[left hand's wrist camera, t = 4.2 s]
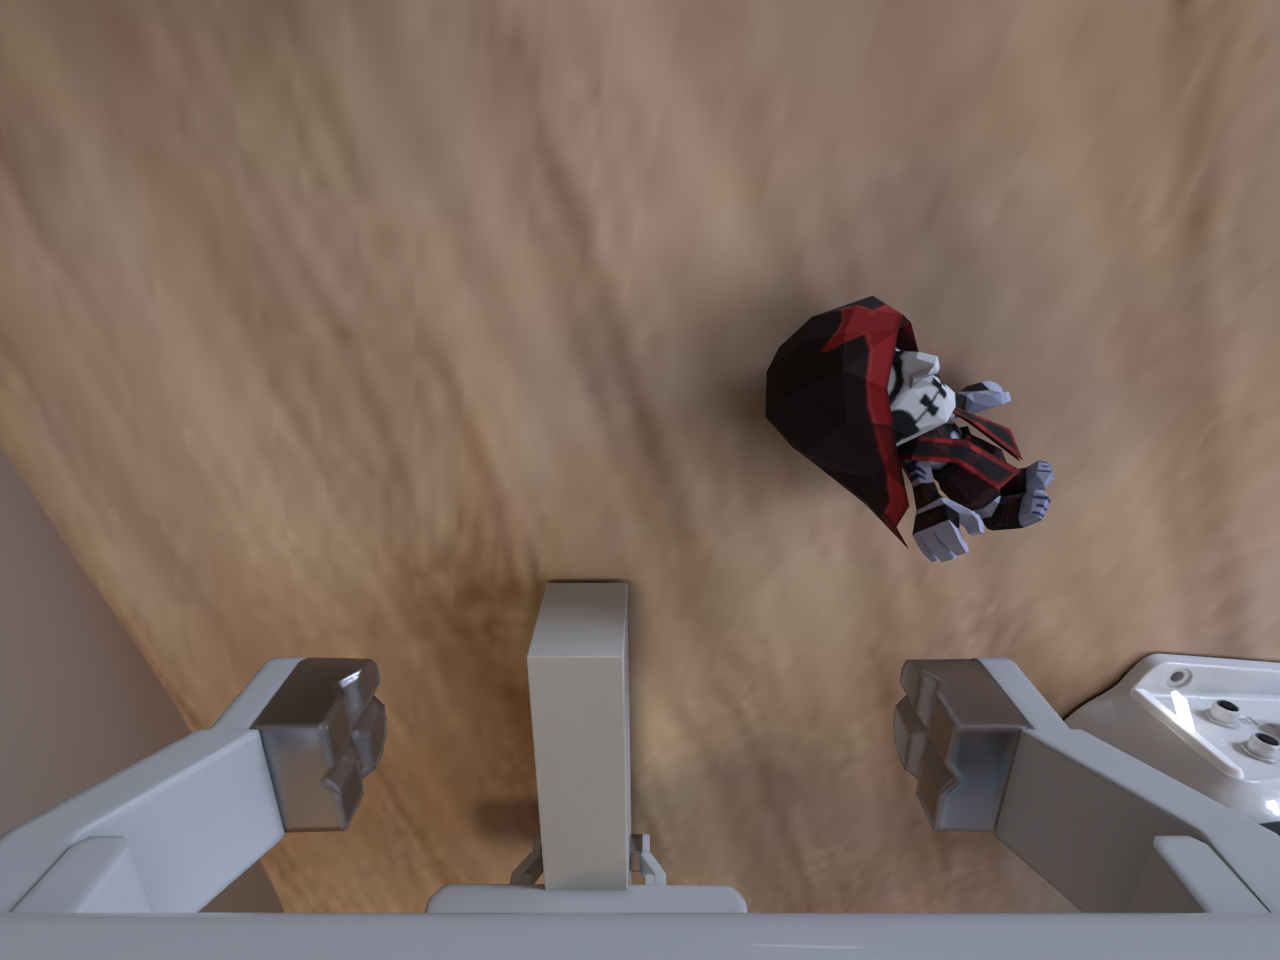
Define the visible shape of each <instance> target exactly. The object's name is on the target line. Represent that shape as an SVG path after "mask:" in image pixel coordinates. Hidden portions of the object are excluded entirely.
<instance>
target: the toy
mask: <svg viewBox="0 0 1280 960" xmlns="http://www.w3.org/2000/svg"><path fill="white" fill-rule="evenodd" d="M939 368H940V365H939V361H938V357H937V356H934V355H930V354H926V353H921V352H918V348H917V345H916V341H915V337H914V333H913V329H912V325H911V322H910V321H909V320H908V319H907V318H906V317H905V316H904V315H902V314H901V313H899V312H898V311H896V310H894V309H893V308H891V307H890V306H888V305H886V304H885V303H883V302H882V301H880V300H879V299H877V298H875V297H874V296H871V297H868V298H865V299H862V300H859V301H856V302H853V303H851V304H848V305H845V306H842V307H839V308H836V309H833V310H831V311H828V312H825V313H822V314H819V315H816V316H813V317H812V318H811V319H809V320H808V321H807V322H806V323H805V324H804V325H803V326H802V327H801V328H800V329H799V330H798V331H796V332H795V333H794V334H793V335H792V336H791V337H790V338H789V339H788V340H787V341H786V342H785V343H783V344H782V345H781V346H780V347H779V349H778V351H777V353H776V355H775V357H774V359H773V361H772V363H771V365H770V367H769V369H768V371H767V380H766V418H767V419H768V420H769V421H770V422H771V423H772V424H773V426H774V427H775V428H776V429H777V430H778V431H779V432H780V434H781V435H782V436H783V437H784V438H785V439H786V440H787V441H788V443H789V444H790V445H791V446H792V447H793V448H794V449H796V450H797V451H798V452H800V453H801V454H802V455H804V456H805V457H806V458H808V459H809V460H810V461H812V462H813V463H814V464H815V465H817V466H818V467H819V468H821V469H822V470H823V471H824V472H826V473H827V474H828V475H830V476H831V477H832V478H833V479H835V480H836V481H837V482H838V483H840V484H841V485H842V486H843V487H845V488H846V489H847V490H849V491H850V492H851V493H852V494H854V495H855V496H856V497H857V498H859V499H860V500H861V501H862V502H864V503H865V504H866V505H867V506H868V507H869V508H870V509H871V510H872V511H873V512H874V513H875V514H876V516H877V517H878V518H879V519H880V520H881V521H882V522H883V523H884V524H885V525H886V526H887V527H888V528H889V529H890V530H891V531H892V532H893V533H894V534H895V535H896V536H897V537H898V539H899V540H900V541H901V542H902V543H903V544H904V545H905V546H906V547H907V545H906V543H905V542H904V540H903V538H902V536H901V534H900V533H899V531H898V529H897V525H898V523H899V522H900V520H901V518H902V517H903V515H904V514H905V512H906V510H907V509H908V507H909V503H908V498H907V493H906V488H905V484H904V479H903V474H902V469H901V468H903V470H904V471H905V473H906V475H907V476H908V478H909V480H910V482H911V483H912V486H913V492H914V498H915V504H916V509H917V510H916V516H915V522H914V529H913V537H914V539H915V541H916V543H917V545H918V546H919V548H920V549H921V551H922V552H923V554H924V555H925V556H926V557H927V558H928V559H930V560H931V561H932V562H933V561H936V560H940V561H941V562H944V561H948V560H952V559H954V558H956V557H957V556H958V555H961V554H963V553H966V552H969V549H968V547H967V545H966V543H965V540H964V538H963V536H962V534H961V532H960V528H959V523H960V524H961V525H963V526H964V527H965V528H966V530H967V532H968V534H970V535H977V534H983V533H984V525H985V526H986V527H987V529H990V530H1005V529H1016V528H1024V527H1026V526H1029V525H1031V524H1033V523H1036V522H1038V521H1041V520H1042V519H1043V517H1044V514H1045V512H1046V510H1047V508H1048V506H1049V504H1050V499H1049V497H1048V495H1047V494H1046V493H1045V492H1044V489H1046V487H1047V486H1048V485H1049V483H1050V482H1051V481H1052V479H1053V478H1054V476H1053V472H1052V469H1051V466H1050V464H1049V463H1048V462H1046V461H1040V460H1039V461H1037V462H1035V463H1033V464H1032V465H1030V466H1028V467H1027V468H1021V469H1017V468H1015V467H1014V466H1012V465H1010V464H1008V463H1007V462H1006V460H1005V457H1004V454H1003V452H1002V449H1000V448H998V447H996V446H994V445H992V444H990V443H988V442H986V441H984V440H982V439H980V438H978V437H975V436H973V435H971V433H970V431H969V428H968V426H966V427H961V428H958V426H957V425H956V423H954V422H952V421H951V420H949V418H954V417H960V418H962V419H963V420H965V421H967V422H968V423H969V424H971V425H972V426H973V427H975V428H976V429H977V430H979V431H980V432H981V433H983V434H984V435H985V436H987V437H988V438H989V439H991V440H992V441H993V442H995V443H996V444H997V445H999V446H1000V447H1001V448H1003V449H1004V450H1005V451H1007V452H1008V453H1009V454H1011V455H1012V456H1013V457H1015V458H1016V459H1017V460H1019V458H1020V459H1022V457H1021V455H1020V452H1019V450H1018V447H1017V445H1016V442H1015V440H1014V437H1013V435H1012V432H1011V430H1010V429H1008V428H1006V427H1003V426H1001V425H998V424H996V423H994V422H991V421H989V420H986V419H984V418H982V417H979V416H977V415H974V413H977V412H980V411H984V410H987V409H990V408H993V407H996V406H999V405H1002V404H1004V403H1006V402H1008V401H1011V399H1010V395H1009V392H1002V388H1001V387H1000V386H999V385H997V384H996V383H994V382H991V381H986V382H981V383H978V384H974V385H970V386H967V387H965V388H964V389H963V390H961V391H960V392H959V393H957V394H955V393H954V392H953V391H952V390H951V389H950V388H949V387H948V386H947V385H946V384H945V383H943V382H942V381H941V380H940V377H939V375H938V374H937V373H938V372H939ZM1018 457H1019V458H1018ZM1019 461H1020V460H1019ZM933 478H934V479H935V480H936V481H937V482H939V485H940V489H941V490H942V491H943V492H944V493H945V494H946V495H947V496H948V497H949V499H950V500H949V499H944V498H943V497H942V496H941V495H940V494H939V493H938V490H937V488H936V485H935V483H934V479H933ZM973 510H974V511H975V512H973ZM907 548H908V547H907Z"/></svg>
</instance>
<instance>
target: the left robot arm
mask: <svg viewBox="0 0 1280 960" xmlns="http://www.w3.org/2000/svg"><path fill="white" fill-rule="evenodd" d="M379 683H380V677H379V673H378V668H377V664H376V663H375V662H374V661H373V660H372V659H352V658H282V657H276V658H273V659H271V660H268V661H267V662H266V663H265V664H264V665H263V666H262V667H261V669H260V670H259V671H258V672H257V673H256V675H255V676H254V677H253V678H252V679H251V681H250V682H249V683H248V684H247V685H246V687H245V688H244V689H243V690H242V691H241V693H240V694H239V695H238V696H237V697H236V698H235V700H234V701H233V702H232V703H231V704H230V706H229V707H228V708H227V709H226V710H225V712H224V713H223V714H222V715H221V716H220V718H219V719H218V720H217V721H216V722H215V724H214V725H213V726H212V727H211V728H210V729H199V730H197V731H195V732H193V733H191V734H190V735H188V736H186V737H184V738H182V739H180V740H178V741H176V742H174V743H173V744H171V745H169V746H167V747H165V748H163V749H161V750H159V751H158V752H156V753H154V754H152V755H150V756H148V757H146V758H144V759H142V760H141V761H139V762H137V763H135V764H133V765H131V766H129V767H127V768H126V769H124V770H122V771H120V772H118V773H116V774H114V775H112V776H111V777H109V778H107V779H105V780H103V781H101V782H99V783H97V784H95V785H93V786H92V787H90V788H88V789H86V790H84V791H82V792H80V793H78V794H77V795H75V796H73V797H71V798H69V799H67V800H65V801H63V802H62V803H60V804H58V805H56V806H54V807H52V808H50V809H48V810H46V811H45V812H43V813H41V814H39V815H37V816H35V817H33V818H31V819H29V820H28V821H26V822H24V823H22V824H20V825H18V826H16V827H14V828H13V829H11V830H9V831H7V832H5V833H4V834H3V835H2V836H1V837H0V960H1280V836H1279V835H1278V834H1276V833H1274V832H1273V831H1271V830H1269V829H1267V828H1265V827H1263V826H1261V825H1259V824H1258V823H1256V822H1254V821H1252V820H1250V819H1248V818H1246V817H1244V816H1243V815H1241V814H1239V813H1237V812H1235V811H1233V810H1231V809H1229V808H1228V807H1226V806H1224V805H1222V804H1220V803H1218V802H1216V801H1214V800H1212V799H1211V798H1209V797H1207V796H1205V795H1203V794H1201V793H1199V792H1197V791H1196V790H1194V789H1192V788H1190V787H1188V786H1186V785H1184V784H1182V783H1181V782H1179V781H1177V780H1175V779H1173V778H1171V777H1169V776H1167V775H1166V774H1164V773H1162V772H1160V771H1158V770H1156V769H1154V768H1152V767H1151V766H1149V765H1147V764H1145V763H1143V762H1141V761H1139V760H1137V759H1136V758H1134V757H1132V756H1130V755H1128V754H1126V753H1124V752H1122V751H1121V750H1119V749H1117V748H1115V747H1113V746H1111V745H1109V744H1107V743H1106V742H1104V741H1102V740H1100V739H1098V738H1096V737H1094V736H1092V735H1091V734H1089V733H1087V732H1085V731H1083V730H1081V729H1070V728H1069V727H1068V726H1067V725H1066V724H1065V722H1064V721H1063V720H1062V719H1061V718H1060V716H1059V715H1058V714H1057V713H1056V712H1055V711H1054V709H1053V708H1052V707H1051V706H1050V705H1049V703H1048V702H1047V701H1046V700H1045V699H1044V697H1043V696H1042V695H1041V694H1040V693H1039V691H1038V690H1037V689H1036V688H1035V687H1034V685H1033V684H1032V683H1031V682H1030V681H1029V679H1028V678H1027V677H1026V676H1025V675H1024V673H1023V672H1022V671H1021V670H1020V669H1019V668H1018V666H1017V665H1016V664H1015V663H1014V662H1013V661H1012V660H1010V659H1008V658H1006V657H990V658H972V659H918V660H906V661H905V663H904V665H903V667H902V671H901V677H900V683H901V685H902V687H903V689H904V691H905V693H906V696H905V697H904V698H903V699H902V700H901V701H900V702H899V703H898V704H897V705H896V706H895V714H894V721H893V727H894V739H895V745H896V748H897V752H898V756H899V758H900V760H901V762H902V765H903V767H904V769H905V770H906V771H908V772H909V773H910V774H912V775H913V776H914V777H916V778H917V779H918V784H917V789H916V794H917V797H918V799H919V801H920V803H921V805H922V807H923V809H924V811H925V813H926V815H927V817H928V819H929V821H930V823H931V826H932V828H933V830H934V831H960V832H995V836H996V837H997V838H998V839H999V840H1000V841H1001V842H1003V843H1004V844H1005V845H1006V846H1007V847H1008V848H1010V849H1011V850H1012V851H1013V852H1014V853H1015V854H1016V855H1018V856H1019V857H1020V858H1021V859H1022V860H1023V861H1024V862H1026V863H1027V864H1028V865H1029V866H1030V867H1031V868H1032V869H1034V870H1035V871H1036V872H1037V873H1038V874H1039V875H1040V876H1042V877H1043V878H1044V879H1045V880H1046V881H1047V882H1048V883H1050V884H1051V885H1052V886H1053V887H1054V888H1055V889H1057V890H1058V891H1059V892H1060V893H1061V894H1062V895H1063V896H1065V897H1066V898H1067V899H1068V900H1069V901H1070V902H1071V903H1073V904H1074V905H1075V906H1076V907H1077V908H1078V909H1079V910H1081V911H1082V912H1083V913H197V912H198V911H200V910H201V909H202V908H203V907H204V906H205V905H206V904H208V903H209V902H210V901H211V900H212V899H213V898H215V897H216V896H217V895H218V894H219V893H220V892H221V891H223V890H224V889H225V888H226V887H227V886H228V885H229V884H231V883H232V882H233V881H234V880H235V879H236V878H237V877H239V876H240V875H241V874H242V873H243V872H244V871H246V870H247V869H248V868H249V867H250V866H251V865H252V864H254V863H255V862H256V861H257V860H258V859H259V858H260V857H262V856H263V855H264V854H265V853H266V852H267V851H269V850H270V849H271V848H272V847H273V846H274V845H275V844H277V843H278V842H279V841H280V840H281V839H282V838H283V837H285V832H318V831H346V830H347V828H348V826H349V824H350V822H351V819H352V817H353V815H354V813H355V811H356V809H357V807H358V805H359V803H360V801H361V799H362V797H363V794H364V789H363V784H362V779H363V778H364V777H366V776H367V775H368V774H370V773H371V772H372V771H374V770H375V769H376V767H377V765H378V762H379V760H380V758H381V756H382V753H383V748H384V743H385V739H386V720H387V719H386V712H385V706H384V705H383V704H382V703H381V702H380V701H379V700H378V699H377V698H376V697H375V696H374V693H375V691H376V689H377V687H378V685H379Z"/></svg>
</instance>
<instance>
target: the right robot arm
mask: <svg viewBox="0 0 1280 960" xmlns="http://www.w3.org/2000/svg"><path fill="white" fill-rule="evenodd" d="M1064 722H1065V724H1066V725H1067V726H1068V727H1069V728H1070V729H1081V730H1083V731H1085V732H1087V733H1089V734H1091V735H1092V736H1094V737H1096V738H1098V739H1100V740H1102V741H1104V742H1106V743H1107V744H1109V745H1111V746H1113V747H1115V748H1117V749H1119V750H1121V751H1122V752H1124V753H1126V754H1128V755H1130V756H1132V757H1134V758H1136V759H1137V760H1139V761H1141V762H1143V763H1145V764H1147V765H1149V766H1151V767H1152V768H1154V769H1156V770H1158V771H1160V772H1162V773H1164V774H1166V775H1167V776H1169V777H1171V778H1173V779H1175V780H1177V781H1179V782H1181V783H1182V784H1184V785H1186V786H1188V787H1190V788H1192V789H1194V790H1196V791H1197V792H1199V793H1201V794H1203V795H1205V796H1207V797H1209V798H1211V799H1212V800H1214V801H1216V802H1218V803H1220V804H1222V805H1224V806H1226V807H1228V808H1229V809H1231V810H1233V811H1235V812H1237V813H1239V814H1241V815H1243V816H1244V817H1246V818H1248V819H1250V820H1252V821H1254V822H1256V823H1258V824H1259V825H1261V826H1263V827H1265V828H1267V829H1269V830H1271V831H1273V832H1274V833H1276V834H1278V835H1279V836H1280V663H1277V662H1264V661H1251V660H1238V659H1225V658H1212V657H1199V656H1186V655H1173V654H1152V655H1149V656H1147V657H1145V658H1143V659H1142V660H1141V661H1139V662H1138V663H1137V664H1136V665H1135V666H1134V667H1133V668H1132V669H1131V670H1130V671H1129V672H1128V673H1127V674H1126V675H1125V676H1124V677H1123V678H1122V680H1121V681H1120V682H1119V683H1118V684H1117V685H1116V686H1114V687H1113V688H1111V689H1110V690H1108V691H1107V692H1105V693H1103V694H1101V695H1100V696H1098V697H1096V698H1094V699H1093V700H1091V701H1089V702H1088V703H1086V704H1085V705H1083V706H1082V707H1080V708H1079V709H1077V710H1076V711H1075V712H1074V713H1072V714H1071V715H1070V716H1069V717H1068V718H1067V719H1065V720H1064ZM629 869H630V871H638V872H641V874H642V876H643V877H644V879H645V885H628V890H545V884H534V883H535V882H536V881H537V880H538V878H539V877H540V876H541V874H542V873H543V871H544V870H543V857H542V845H541V834H536V837H535V842H534V848H533V853H530V854H529V855H528V856H527V857H526V858H525V859H524V861H523V862H522V863H521V864H520V865H519V866H518V867H517V868H516V869H515V870H514V871H513V872H512V876H511V881H510V884H446V885H444V886H443V887H441V888H440V889H439V890H438V891H437V892H436V893H434V894H433V895H432V896H431V897H430V898H429V900H428V902H427V906H426V909H425V913H747V906H746V901H745V899H744V898H743V897H742V896H741V895H740V894H739V893H738V892H737V891H736V890H735V889H734V888H733V887H732V886H728V885H666V873H665V872H664V870H663V869H662V867H661V866H660V865H659V863H658V862H657V860H656V859H655V858H654V856H653V855H652V853H650V835H649V834H643V836H642V834H630V844H629Z"/></svg>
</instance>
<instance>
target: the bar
mask: <svg viewBox="0 0 1280 960" xmlns="http://www.w3.org/2000/svg"><path fill="white" fill-rule="evenodd" d="M527 670H528V682H529V695H530V707H531V720H532V732H533V745H534V757H535V770H536V782H537V795H538V807H539V820H540V832H541V845H542V857H543V870H544V882H545V890H628V885H631V871H630V869H629V844H630V834H631V787H630V720H629V653H628V587H627V583H547V584H546V587H545V591H544V595H543V598H542V602H541V606H540V609H539V613H538V617H537V620H536V624H535V628H534V631H533V635H532V639H531V642H530V646H529V650H528V653H527Z"/></svg>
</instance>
